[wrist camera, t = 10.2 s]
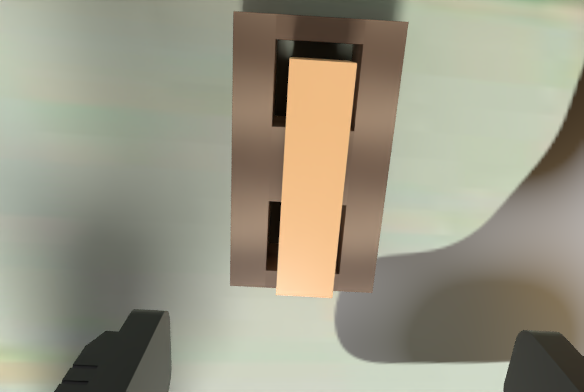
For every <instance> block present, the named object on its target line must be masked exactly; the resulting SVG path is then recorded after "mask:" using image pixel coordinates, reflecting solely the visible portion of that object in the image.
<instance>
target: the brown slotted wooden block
mask: <svg viewBox="0 0 584 392" xmlns="http://www.w3.org/2000/svg"><path fill="white" fill-rule="evenodd" d="M407 29H408V22H400V21H383V20H367V19H351V18H334V17H318V16H302V15H286V14H269V13H253V12H237V11H234V14H233V96H232V179H231V261H230V286H247V287H267V288H276V286H277V269H278V251H279V243H269V231H270V209H271V201H276V202H281V199H282V181H283V164H284V147H285V129H286V116H275V94H276V71H277V48H278V40H292V41H309V42H326V43H342V44H353V52H352V62H355V63H357V69H356V79H355V88H354V98H353V107H352V116H351V126H350V135H349V145H348V154H347V164H346V173H345V183H344V192H343V201H342V211H341V220H340V230H339V239H338V249H337V258H336V268H335V277H334V286H333V291H347V292H367V293H372V291H373V283H374V276H375V268H376V261H377V253H378V246H379V238H380V231H381V223H382V216H383V208H384V201H385V193H386V186H387V178H388V171H389V164H390V156H391V149H392V141H393V134H394V126H395V119H396V111H397V104H398V96H399V89H400V81H401V74H402V66H403V59H404V52H405V44H406V37H407Z"/></svg>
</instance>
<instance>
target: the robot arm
mask: <svg viewBox="0 0 584 392" xmlns="http://www.w3.org/2000/svg"><path fill="white" fill-rule="evenodd" d="M170 379H171V341H170V317H169V313H168V311H158V310H139V309H134V310H132V312H131V313H130V315H129V316H128V318H127V319H126V321H125V323H124V324H123V326H122V328H121V329H120V331H119V332H113V331H105V332H104V333H103V334H101V335H100V336H99V337H97V338H96V339H95V340H93V341H92V342H90V343H89V344H88V345H86V346H85V348H84V349H83V351H82V352H81V354H80V355H79V356H78V358H77V359H76V361H75V362H74V364H73V367H72V368H70V369H69V371H68V372H67V374H66V375H65V377H64V378H63V380H62V384H59V385H58V387H57V388H56V390H55V391H54V392H168V390H169V386H170ZM504 392H584V356H582V355H581V354H580V353H579V352H578V351H577V350H576V349H575V348H574V347H573V345H572V344H571V343H570V342H569V341H568V340H567V339H566V338H565V337H564V336H563V335H562V334H560V333H559V332H549V331H530V330H529V331H528V330H523V331H521V332H520V333H519V334H518V336H517V338H516V341H515V345H514V349H513V352H512V356H511V360H510V364H509V367H508V371H507V375H506V379H505V382H504Z"/></svg>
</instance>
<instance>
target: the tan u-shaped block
mask: <svg viewBox="0 0 584 392" xmlns="http://www.w3.org/2000/svg"><path fill="white" fill-rule="evenodd" d="M356 69H357V63H355V62H351V61H345V60H337V59H321V58H306V57H290V59H289V77H288V94H287V112H286V129H285V147H284V164H283V181H282V199H281V216H280V234H279V251H278V269H277V286H276V295H285V296H303V297H322V298H332V296H333V286H334V277H335V268H336V258H337V249H338V239H339V230H340V220H341V211H342V201H343V192H344V183H345V173H346V164H347V154H348V145H349V135H350V126H351V116H352V107H353V98H354V88H355V79H356Z"/></svg>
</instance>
